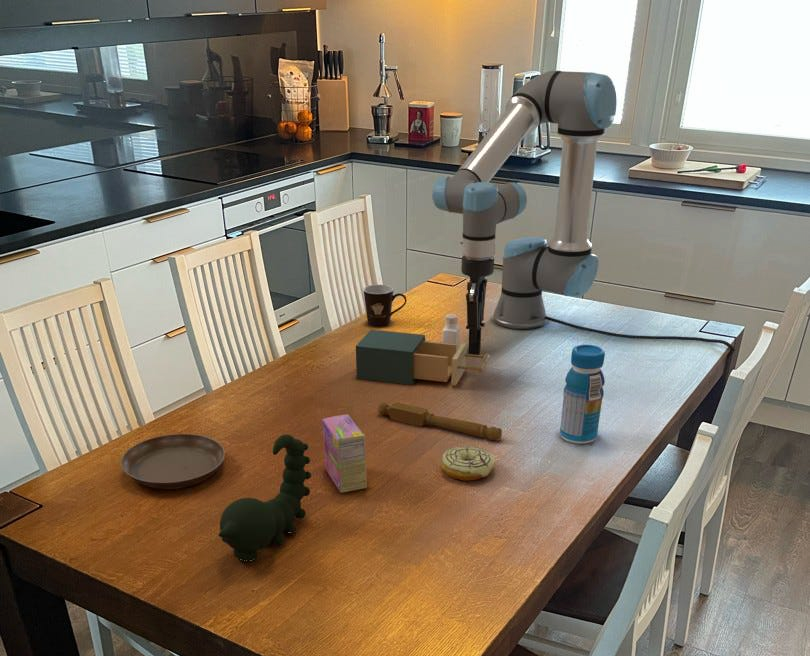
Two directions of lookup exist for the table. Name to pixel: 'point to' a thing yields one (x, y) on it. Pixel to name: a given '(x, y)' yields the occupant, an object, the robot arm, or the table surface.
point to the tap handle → (436, 420)
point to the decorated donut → (467, 463)
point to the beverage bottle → (583, 395)
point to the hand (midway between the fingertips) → (474, 353)
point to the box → (345, 453)
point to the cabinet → (387, 356)
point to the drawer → (443, 361)
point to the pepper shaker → (451, 331)
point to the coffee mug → (380, 304)
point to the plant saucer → (173, 460)
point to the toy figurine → (268, 507)
